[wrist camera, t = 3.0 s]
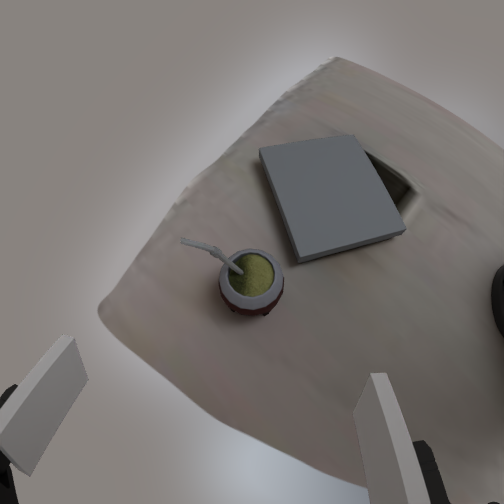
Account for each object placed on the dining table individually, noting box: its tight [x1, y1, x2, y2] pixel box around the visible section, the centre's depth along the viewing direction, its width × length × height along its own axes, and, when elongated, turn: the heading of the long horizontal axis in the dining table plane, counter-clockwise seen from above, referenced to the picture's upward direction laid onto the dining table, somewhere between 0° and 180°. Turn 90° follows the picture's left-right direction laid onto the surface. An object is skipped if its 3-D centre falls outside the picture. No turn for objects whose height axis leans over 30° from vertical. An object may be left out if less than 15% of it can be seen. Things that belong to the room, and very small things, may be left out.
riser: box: [259, 135, 406, 263], centre depth 41 cm, size 18×16×4 cm
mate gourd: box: [181, 238, 284, 316], centre depth 30 cm, size 8×8×15 cm
